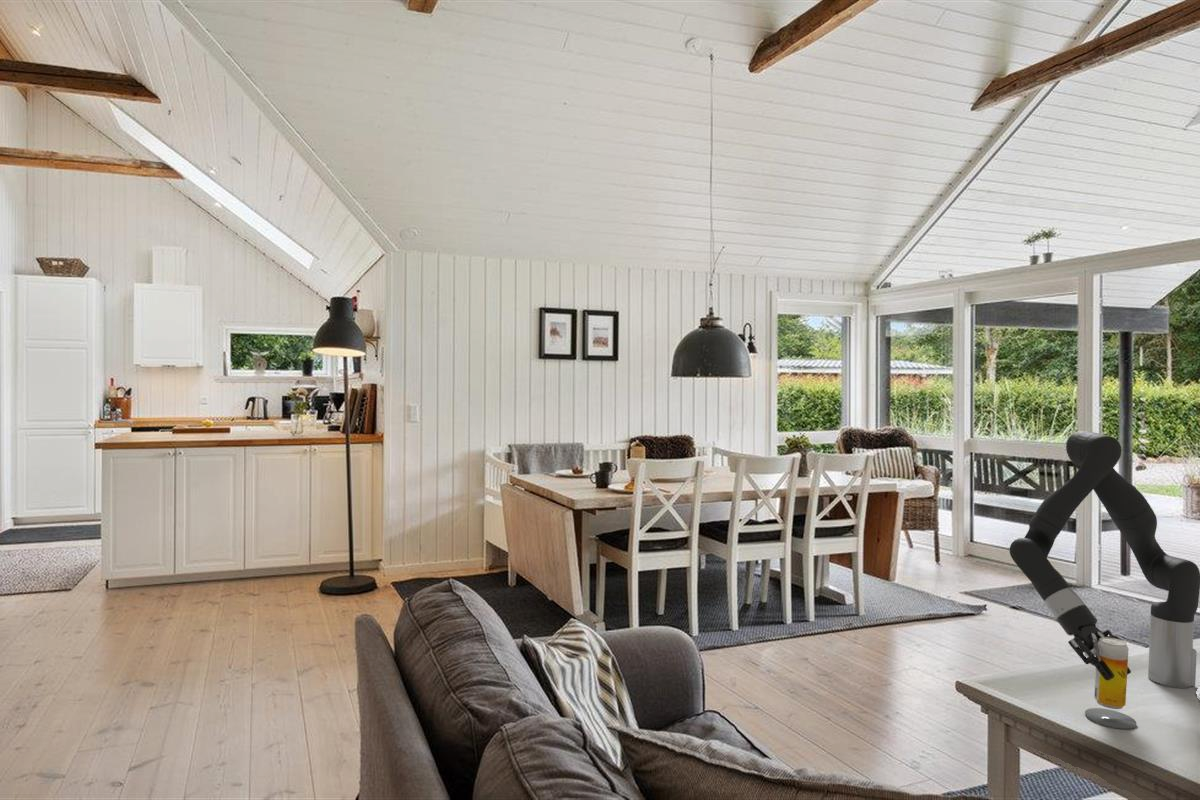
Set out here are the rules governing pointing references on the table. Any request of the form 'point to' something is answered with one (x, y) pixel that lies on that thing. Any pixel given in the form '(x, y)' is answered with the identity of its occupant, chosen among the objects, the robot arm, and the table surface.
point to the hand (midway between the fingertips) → (1119, 676)
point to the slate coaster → (1110, 718)
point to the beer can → (1117, 661)
